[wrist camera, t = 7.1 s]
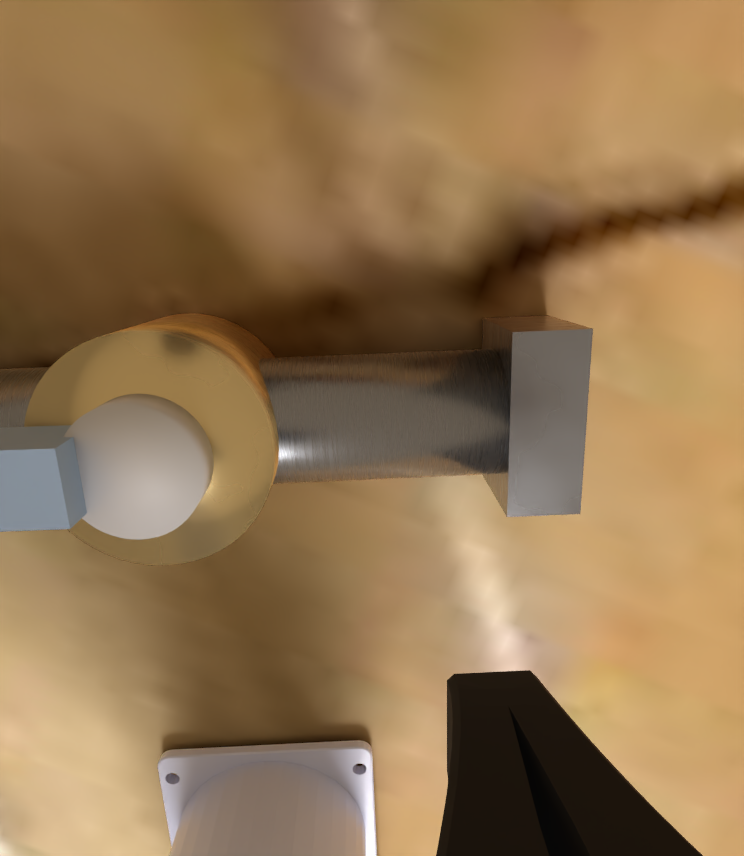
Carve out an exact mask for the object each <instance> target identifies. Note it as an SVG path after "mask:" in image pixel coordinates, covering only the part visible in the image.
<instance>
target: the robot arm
mask: <svg viewBox="0 0 744 856" xmlns="http://www.w3.org/2000/svg"><path fill="white" fill-rule="evenodd" d="M359 763H360V764H364V765H362V766H357V765H356V764H359ZM158 773H159V778H160V784H161V790H162V795H163V801H164V807H165V812H166V818H167V824H168V829H169V835H170V841H171V847H172V848H171V851H170V854H169V856H377V844H376V823H375V801H374V779H373V758H372V748H371V746H370V745H369V744H368V743H367V742H365V741H361V740H353V741H333V742H313V743H293V744H273V745H253V746H233V747H213V748H193V749H174V750H168V751H165V752H164V753H163V754H162V755H161V757H160V759H159V762H158ZM171 773H175V774H177V775H173V774H171ZM447 773H448V789H447V796H446V803H445V808H444V814H443V820H442V826H441V832H440V838H439V844H438V850H437V855H436V856H703V855H702V854H701V853H700V852H698V851H697V850H696V849H695V848H694V847H693V846H692V845H691V844H690V843H689V842H688V841H687V840H686V839H685V838H684V837H683V836H682V835H681V834H680V833H679V832H678V831H677V830H676V829H675V828H674V827H673V826H672V825H671V824H669V823H668V822H667V821H666V820H665V819H664V818H663V817H662V816H661V815H660V814H659V813H658V812H657V811H656V810H655V809H654V808H653V807H652V806H651V805H650V804H649V803H648V802H647V801H646V800H645V798H644V797H643V796H642V795H641V794H640V793H639V792H638V791H637V790H636V789H635V788H634V787H633V786H632V785H631V784H630V783H629V782H628V781H627V780H626V779H625V777H624V776H623V775H622V774H621V773H620V772H619V771H618V770H617V769H616V768H615V767H614V766H613V765H612V764H611V763H610V761H609V760H608V759H607V758H606V757H605V756H604V755H603V754H602V753H601V752H600V751H599V750H598V748H597V747H596V746H595V745H594V744H593V743H592V742H591V741H590V739H589V738H588V737H587V736H586V735H585V734H584V733H583V731H582V730H581V729H580V728H579V727H578V726H577V725H576V723H575V722H574V721H573V720H572V719H571V718H570V716H569V715H568V714H567V713H566V712H565V711H564V709H563V708H562V707H561V706H560V705H559V703H558V702H557V701H556V700H555V699H554V698H553V696H552V695H551V694H550V693H549V691H548V690H547V689H546V688H545V687H544V685H543V684H542V683H541V682H540V681H539V679H538V678H537V677H536V676H535V675H534V674H533V673H532V672H531V671H530V670H529V671H508V672H487V673H466V674H454V675H453V676H451V677H450V678H449V679H448V680H447Z"/></svg>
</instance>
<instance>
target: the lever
mask: <svg viewBox="0 0 744 856" xmlns="http://www.w3.org/2000/svg"><path fill="white" fill-rule="evenodd" d="M213 468H214V459H213V452H212V447H211V444H210V441H209V439H208V437H207V435H206V432H205V431H204V429H203V428H202V426H201V425H200V424H199V422H198V421H197V420H196V419H195V418H194V417H193V416H192V415H191V414H190V413H189V412H188V411H187V410H185V409H184V408H183V407H181V406H180V405H178V404H176V403H174V402H172V401H170V400H168V399H165V398H162V397H159V396H155V395H149V394H127V395H123V396H119V397H116V398H114V399H111V400H109V401H107V402H105V403H104V404H102V405H100V406H98V407H97V408H95V409H93V410H91V411H90V412H88V413H86V414H84V415H83V416H81V417H80V418H79V419H77V420H76V421H75V422H74V423H73V424H72V425H62V426H32V427H2V428H0V532H3V531H31V530H58V529H71V528H72V527H73V526H74V525H75V524H76V523H77V522H78V521H79V520H80V519H81V518H82V519H83V520H85V521H86V522H87V523H88V524H90V525H91V526H93V527H94V528H96V529H98V530H100V531H102V532H104V533H107V534H109V535H112V536H116V537H119V538H125V539H136V540H141V539H150V538H155V537H159V536H162V535H164V534H167V533H169V532H171V531H173V530H175V529H176V528H178V527H179V526H180V525H182V524H183V523H184V522H185V521H186V520H187V519H188V518H189V517H190V515H191V514H192V513H193V511H194V510H195V508H196V507H197V505H198V504H199V502H200V501H201V499H202V497H203V496H204V494H205V493H206V491H207V489H208V487H209V485H210V482H211V479H212V475H213Z"/></svg>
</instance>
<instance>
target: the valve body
mask: <svg viewBox="0 0 744 856" xmlns="http://www.w3.org/2000/svg"><path fill="white" fill-rule="evenodd" d="M592 334H593V329H592V328H588V327H585V326H581V325H578V324H575V323H571V322H568V321H565V320H561V319H558V318H555V317H551V316H548V315H544V316H519V317H494V318H483V322H482V349H476V350H451V351H427V352H403V353H379V354H354V355H330V356H306V357H282V358H276V357H275V356H274V355H273V354H272V352H271V351H270V350H269V349H268V348H267V347H266V346H265V345H264V344H263V343H262V342H261V341H260V340H259V339H258V338H257V337H256V336H254V335H253V334H252V333H250V332H249V331H247V330H246V329H244V328H242V327H241V326H239V325H237V324H235V323H233V322H230V321H228V320H226V319H222V318H219V317H216V316H212V315H205V314H196V313H184V314H175V315H170V316H166V317H162V318H159V319H155V320H152V321H149V322H145V323H142V324H139V325H135V326H132V327H129V328H126V329H122V330H119V331H116V332H112V333H109V334H106V335H102V336H99V337H96V338H94V339H91V340H89V341H86V342H84V343H82V344H80V345H78V346H77V347H75V348H73V349H71V350H70V351H68V352H67V353H66V354H64V355H63V356H62V357H61V358H59V359H58V360H57V361H56V362H55V363H54V364H53V365H52V366H51V367H39V368H15V369H0V428H2V427H32V426H62V425H72V424H73V423H74V422H75V421H76V420H77V419H79V418H80V417H81V416H83V415H84V414H86V413H88V412H90V411H91V410H93V409H95V408H97V407H98V406H100V405H102V404H104V403H105V402H107V401H109V400H111V399H114V398H116V397H119V396H123V395H127V394H149V395H155V396H159V397H162V398H165V399H168V400H170V401H172V402H174V403H176V404H178V405H180V406H181V407H183V408H184V409H185V410H187V411H188V412H189V413H190V414H191V415H192V416H193V417H194V418H195V419H196V420H197V421H198V422H199V424H200V425H201V426H202V428H203V429H204V431H205V432H206V435H207V437H208V439H209V441H210V444H211V447H212V452H213V459H214V468H213V475H212V479H211V482H210V485H209V487H208V489H207V491H206V493H205V494H204V496H203V497H202V499H201V501H200V502H199V504H198V505H197V507H196V508H195V510H194V511H193V513H192V514H191V515H190V517H189V518H188V519H187V520H186V521H185V522H184V523H183V524H182V525H180V526H179V527H178V528H176V529H175V530H173V531H171V532H169V533H167V534H164V535H162V536H159V537H155V538H150V539H141V540H136V539H125V538H119V537H116V536H112V535H109V534H107V533H104V532H102V531H100V530H98V529H96V528H94V527H93V526H91V525H90V524H88V523H87V522H86V521H85V520H83V519H82V518H81V519H80V520H79V521H78V522H77V523H76V524H75V525H74V526H73V527H72V528H71V529H67V530H69V531H70V532H71V533H72V534H73V535H75V536H76V537H77V538H78V539H80V540H81V541H83V542H85V543H86V544H88V545H89V546H91V547H93V548H95V549H97V550H99V551H101V552H103V553H105V554H107V555H110V556H112V557H115V558H118V559H121V560H125V561H129V562H133V563H138V564H146V565H176V564H184V563H188V562H192V561H197V560H200V559H202V558H205V557H208V556H211V555H213V554H214V553H216V552H218V551H220V550H222V549H224V548H225V547H227V546H228V545H230V544H231V543H233V542H234V541H236V540H237V539H238V538H239V537H240V536H241V535H242V534H243V533H244V532H245V531H246V530H247V529H248V528H249V527H250V525H251V524H252V523H253V522H254V521H255V519H256V518H257V516H258V514H259V513H260V511H261V509H262V508H263V506H264V503H265V501H266V499H267V496H268V494H269V491H270V489H271V486H272V484H277V483H299V482H322V481H344V480H367V479H390V478H412V477H435V476H458V475H480V474H482V475H483V476H484V478H485V480H486V482H487V483H488V485H489V487H490V488H491V490H492V492H493V494H494V495H495V497H496V499H497V501H498V502H499V504H500V506H501V507H502V509H503V511H504V513H505V514H506V516H507V517H519V516H541V515H563V514H580V510H581V495H582V480H583V466H584V451H585V436H586V422H587V407H588V392H589V378H590V363H591V348H592Z"/></svg>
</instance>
